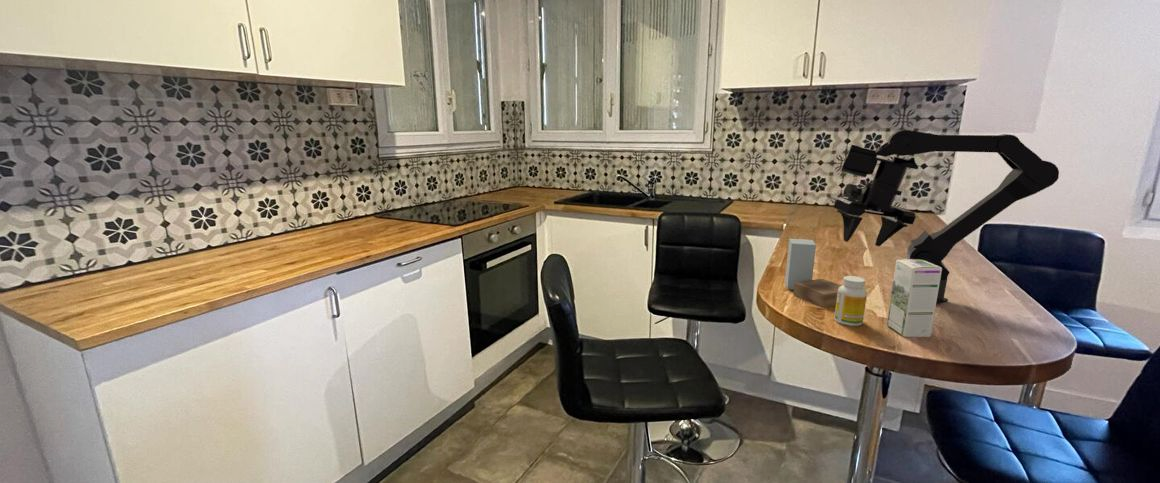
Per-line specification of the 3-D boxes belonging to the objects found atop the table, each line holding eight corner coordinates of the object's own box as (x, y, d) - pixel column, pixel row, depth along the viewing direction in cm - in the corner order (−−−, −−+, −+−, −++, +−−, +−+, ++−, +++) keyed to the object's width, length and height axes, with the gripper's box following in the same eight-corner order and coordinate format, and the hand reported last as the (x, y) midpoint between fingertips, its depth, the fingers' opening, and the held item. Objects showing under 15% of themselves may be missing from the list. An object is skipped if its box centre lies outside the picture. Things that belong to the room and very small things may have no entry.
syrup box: (932, 337, 96) (945, 266, 93) (901, 337, 96) (913, 266, 93) (913, 325, 102) (925, 258, 98) (884, 325, 102) (895, 258, 98)
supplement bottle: (828, 318, 106) (833, 276, 103) (847, 315, 107) (852, 273, 105) (849, 328, 101) (855, 283, 98) (868, 324, 102) (875, 280, 100)
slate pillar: (807, 284, 128) (812, 239, 125) (810, 291, 123) (816, 244, 120) (784, 282, 129) (789, 238, 127) (787, 289, 124) (791, 243, 121)
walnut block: (851, 303, 115) (853, 289, 114) (822, 308, 112) (824, 294, 111) (821, 291, 123) (822, 278, 123) (793, 296, 120) (794, 282, 120)
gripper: (893, 180, 125) (870, 237, 131) (831, 169, 121) (809, 227, 127) (929, 192, 115) (902, 252, 120) (861, 180, 111) (836, 243, 116)
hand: (861, 243), depth 121 cm, fingers open, 9 cm apart
